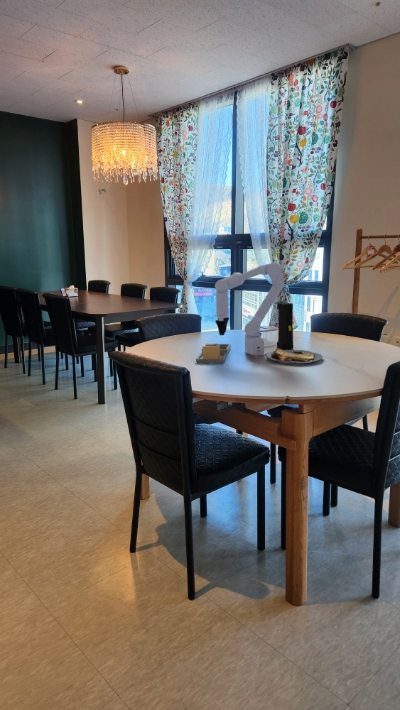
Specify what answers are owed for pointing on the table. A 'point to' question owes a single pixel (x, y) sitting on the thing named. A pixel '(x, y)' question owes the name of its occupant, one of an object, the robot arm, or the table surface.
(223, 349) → the case
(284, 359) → the food plate
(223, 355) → the shallow grey tray
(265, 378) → the table surface
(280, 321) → the portable radio
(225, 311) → the robot arm
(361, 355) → the table surface
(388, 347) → the table surface
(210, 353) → the module
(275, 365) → the table surface
